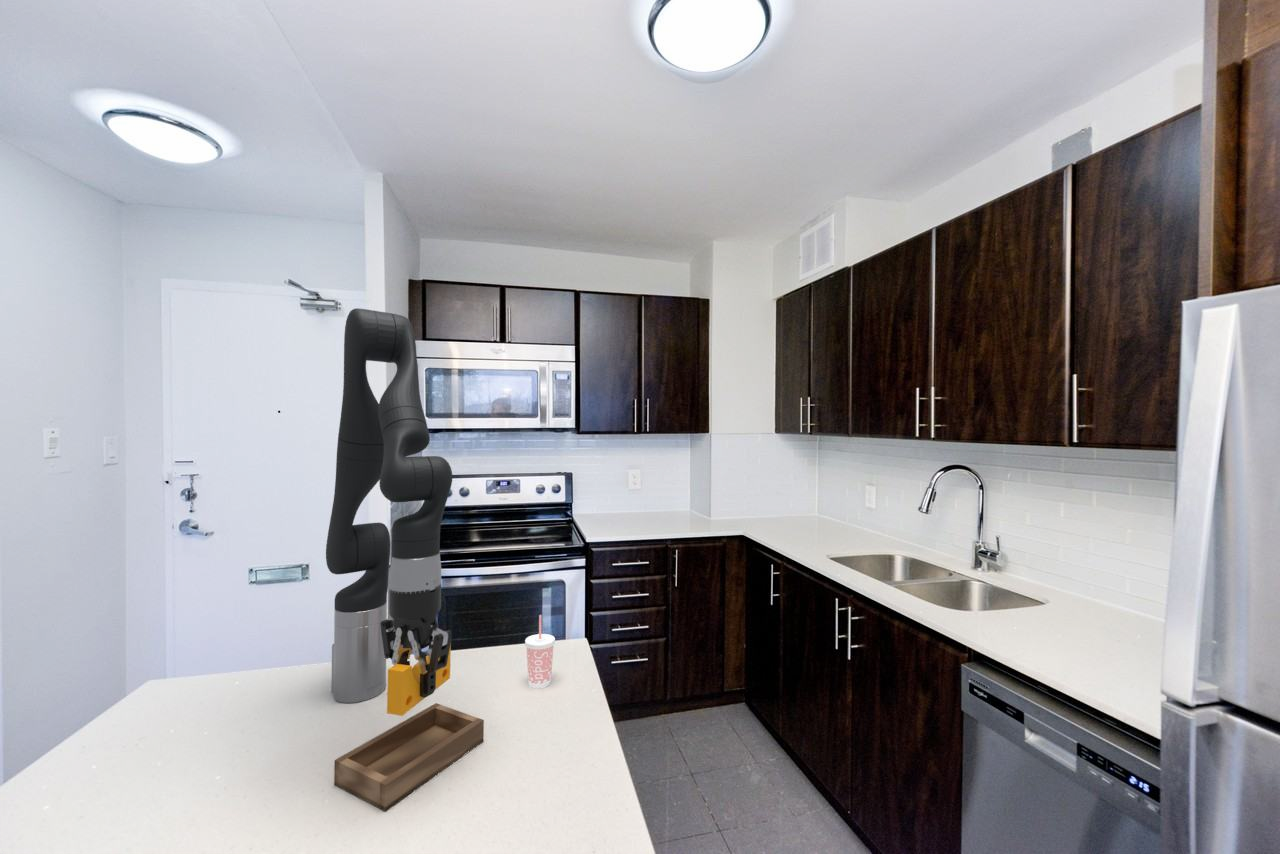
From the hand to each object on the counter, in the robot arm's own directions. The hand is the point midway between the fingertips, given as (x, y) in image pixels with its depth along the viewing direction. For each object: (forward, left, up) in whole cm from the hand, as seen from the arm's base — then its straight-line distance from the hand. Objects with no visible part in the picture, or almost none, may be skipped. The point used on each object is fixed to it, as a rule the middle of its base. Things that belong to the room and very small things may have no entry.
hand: (414, 690), depth 82 cm
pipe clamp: (0, 0, -1) cm, 1 cm away
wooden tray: (0, 0, -11) cm, 11 cm away
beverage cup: (+1, +30, -11) cm, 32 cm away
